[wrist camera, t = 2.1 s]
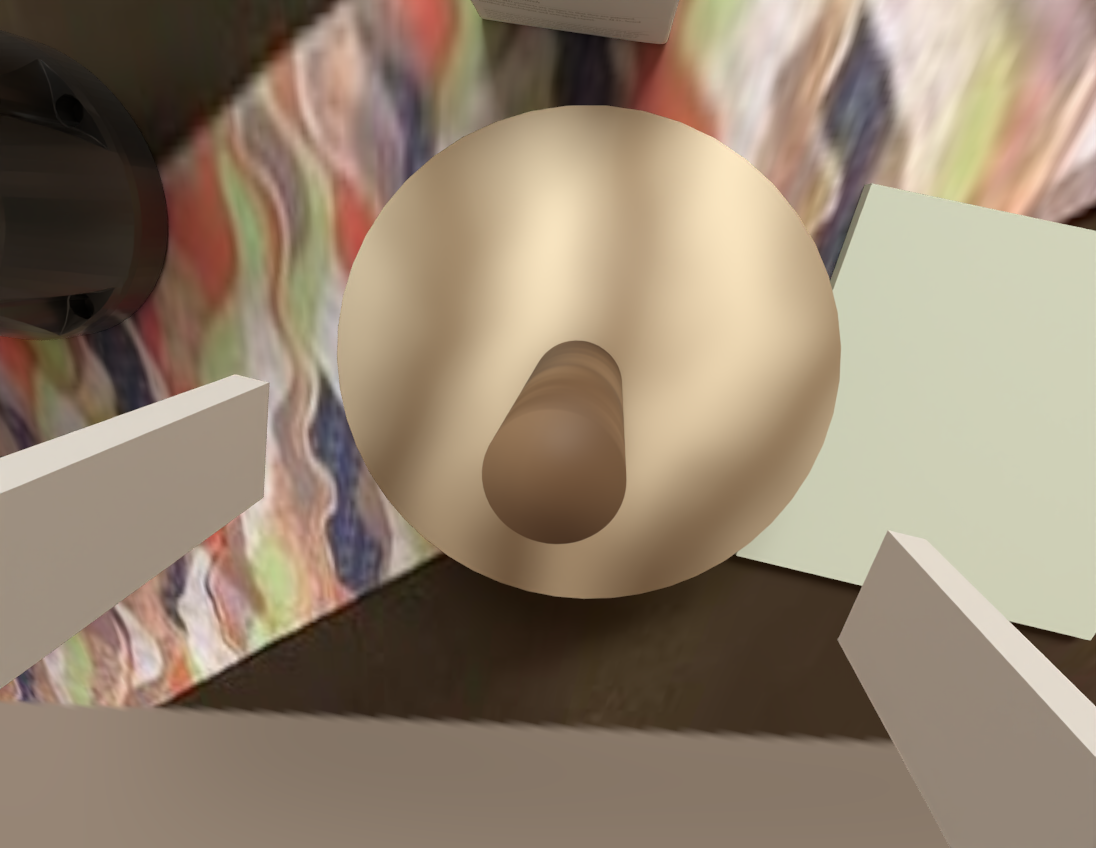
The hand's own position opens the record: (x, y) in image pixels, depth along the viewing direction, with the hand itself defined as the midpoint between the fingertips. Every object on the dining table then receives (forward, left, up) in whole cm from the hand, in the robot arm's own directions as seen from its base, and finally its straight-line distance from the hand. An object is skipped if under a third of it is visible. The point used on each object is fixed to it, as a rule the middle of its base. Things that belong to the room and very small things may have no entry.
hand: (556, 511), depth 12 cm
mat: (+21, 0, -20) cm, 29 cm away
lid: (0, 0, -12) cm, 12 cm away
